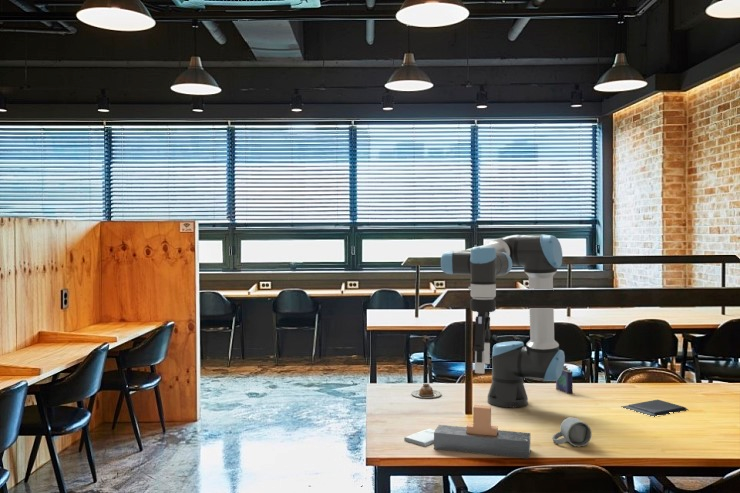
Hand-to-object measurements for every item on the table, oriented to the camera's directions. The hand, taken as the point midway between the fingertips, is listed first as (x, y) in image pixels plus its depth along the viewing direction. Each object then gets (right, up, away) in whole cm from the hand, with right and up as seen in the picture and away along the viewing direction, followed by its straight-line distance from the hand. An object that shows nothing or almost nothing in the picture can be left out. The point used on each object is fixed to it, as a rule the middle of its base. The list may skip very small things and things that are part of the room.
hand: (482, 368), depth 191 cm
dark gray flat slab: (+72, -24, +44) cm, 88 cm away
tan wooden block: (0, -24, +1) cm, 24 cm away
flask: (+46, -23, +69) cm, 86 cm away
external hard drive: (-16, -25, +11) cm, 32 cm away
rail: (0, -25, +1) cm, 25 cm away
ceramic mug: (+29, -25, +6) cm, 38 cm away
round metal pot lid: (-11, -24, +63) cm, 69 cm away
